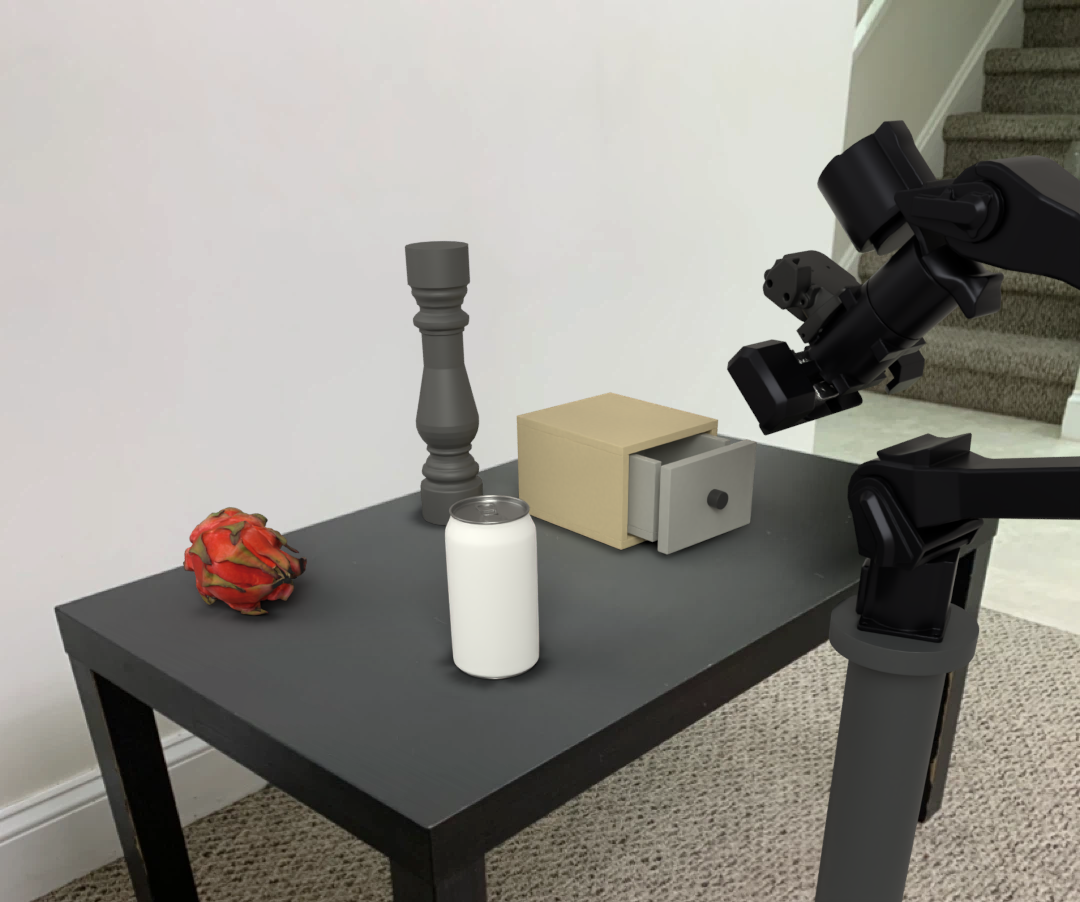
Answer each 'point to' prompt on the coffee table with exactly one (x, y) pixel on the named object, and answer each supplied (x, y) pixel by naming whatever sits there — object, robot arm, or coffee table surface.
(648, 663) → the coffee table surface
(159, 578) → the coffee table surface
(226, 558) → the dragon fruit
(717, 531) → the grey drawer with knob
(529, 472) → the small drawer cabinet
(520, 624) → the can
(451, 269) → the candle holder
